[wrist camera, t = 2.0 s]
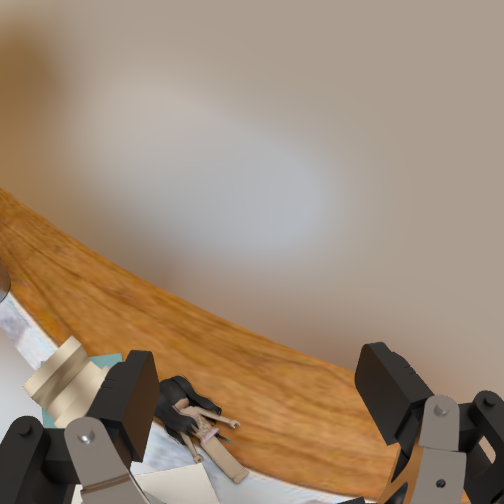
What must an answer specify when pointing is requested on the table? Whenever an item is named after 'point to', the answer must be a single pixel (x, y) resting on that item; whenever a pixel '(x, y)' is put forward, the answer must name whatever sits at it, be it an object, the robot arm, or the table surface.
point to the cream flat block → (173, 486)
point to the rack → (66, 383)
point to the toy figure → (196, 423)
